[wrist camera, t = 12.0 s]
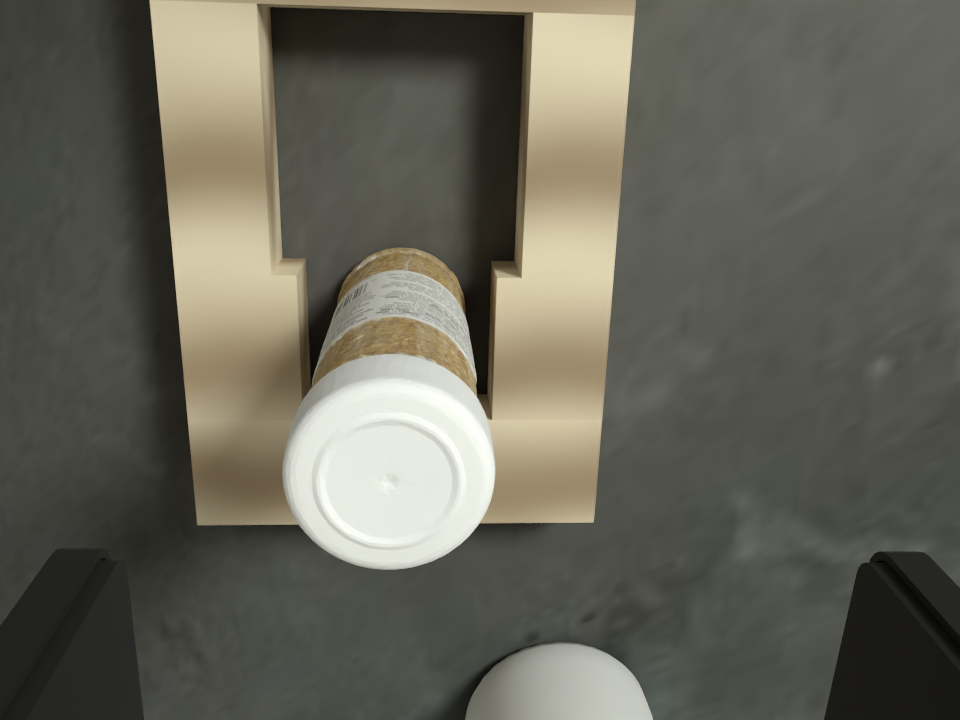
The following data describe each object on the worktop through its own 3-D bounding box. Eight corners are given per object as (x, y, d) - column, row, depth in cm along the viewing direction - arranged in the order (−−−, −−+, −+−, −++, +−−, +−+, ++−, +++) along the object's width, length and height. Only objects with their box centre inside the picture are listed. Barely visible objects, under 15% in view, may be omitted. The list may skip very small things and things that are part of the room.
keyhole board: (162, -105, 26) (138, -119, 24) (625, -86, 27) (643, -98, 25) (212, 492, 33) (197, 525, 31) (582, 490, 34) (593, 522, 32)
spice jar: (396, 390, 32) (379, 615, 19) (310, 299, 31) (231, 476, 18) (493, 312, 31) (541, 492, 19) (408, 215, 30) (398, 338, 17)
